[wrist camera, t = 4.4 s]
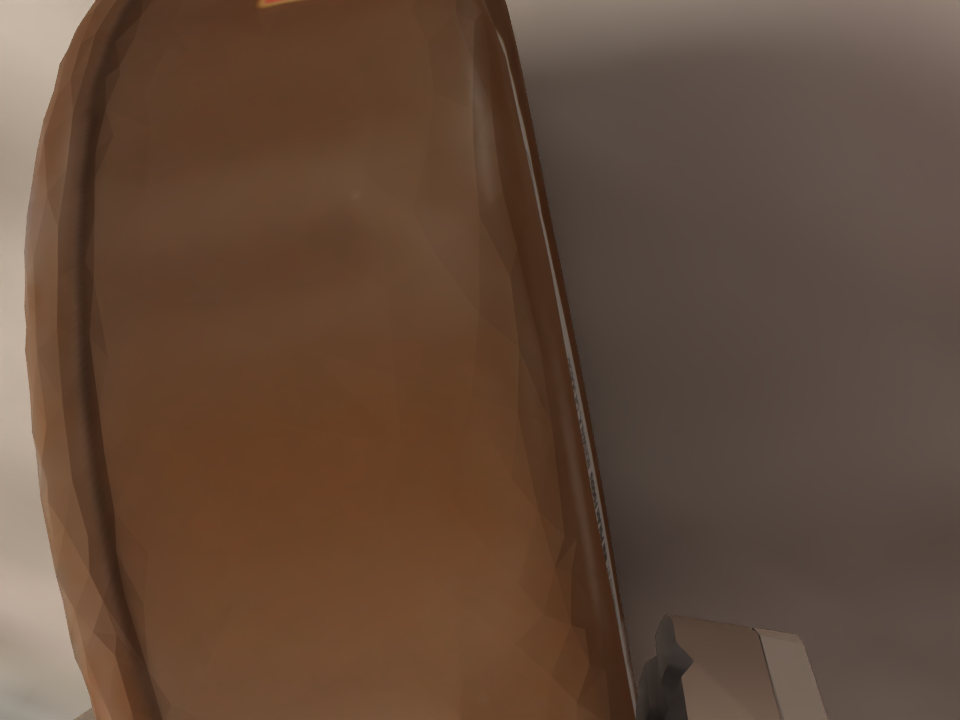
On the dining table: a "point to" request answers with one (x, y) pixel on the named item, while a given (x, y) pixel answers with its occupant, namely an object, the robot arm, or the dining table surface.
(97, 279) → the tin
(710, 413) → the dining table surface
